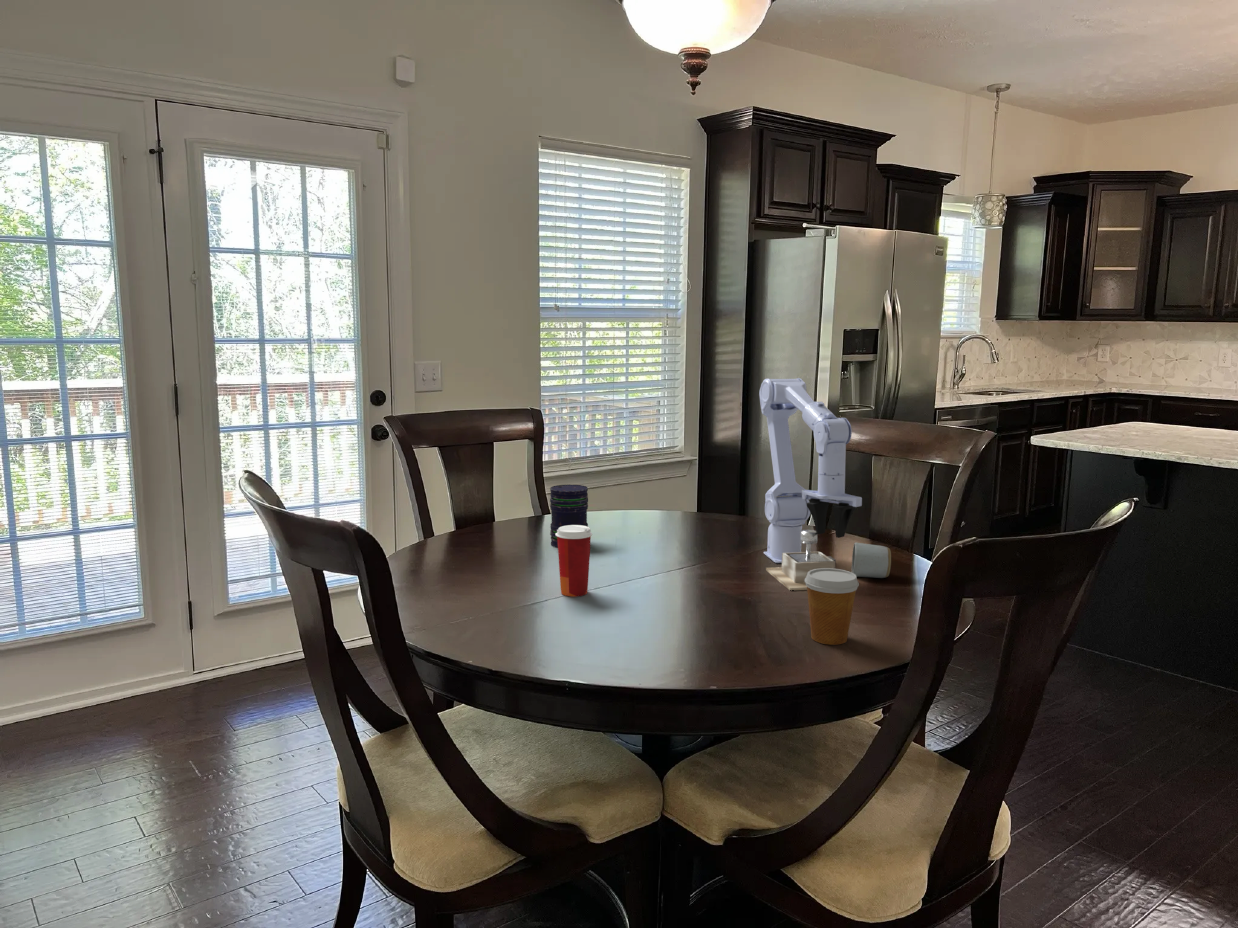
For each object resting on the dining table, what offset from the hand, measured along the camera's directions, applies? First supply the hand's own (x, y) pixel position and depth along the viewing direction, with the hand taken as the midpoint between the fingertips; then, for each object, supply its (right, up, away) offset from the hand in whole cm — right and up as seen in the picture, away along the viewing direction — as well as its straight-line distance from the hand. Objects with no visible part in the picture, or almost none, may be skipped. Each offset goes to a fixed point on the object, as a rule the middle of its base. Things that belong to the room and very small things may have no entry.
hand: (830, 535), depth 189 cm
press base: (-4, -10, +4) cm, 12 cm away
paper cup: (-56, -12, -6) cm, 58 cm away
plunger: (-4, -7, +4) cm, 9 cm away
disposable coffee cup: (-8, -16, -33) cm, 38 cm away
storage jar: (-59, -5, +35) cm, 69 cm away
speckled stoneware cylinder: (+11, -10, +8) cm, 17 cm away
